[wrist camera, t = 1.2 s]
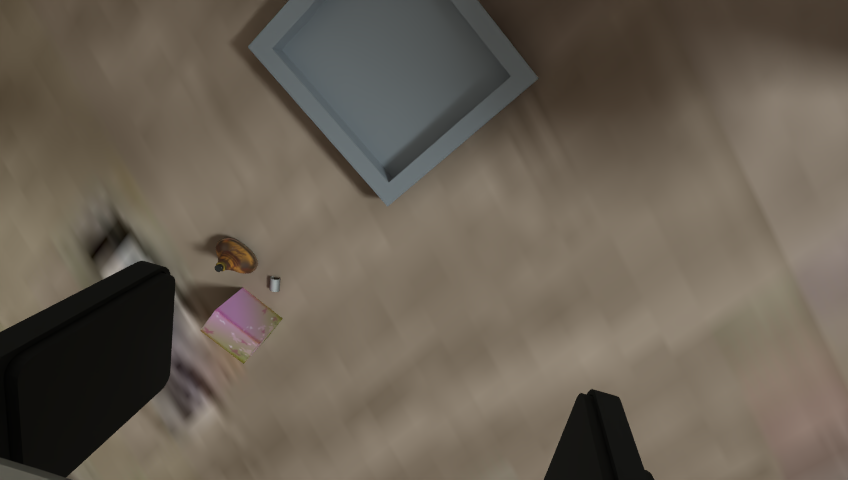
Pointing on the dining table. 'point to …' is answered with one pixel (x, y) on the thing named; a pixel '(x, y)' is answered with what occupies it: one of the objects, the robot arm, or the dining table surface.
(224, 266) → the perfume bottle
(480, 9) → the tray
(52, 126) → the dining table surface
